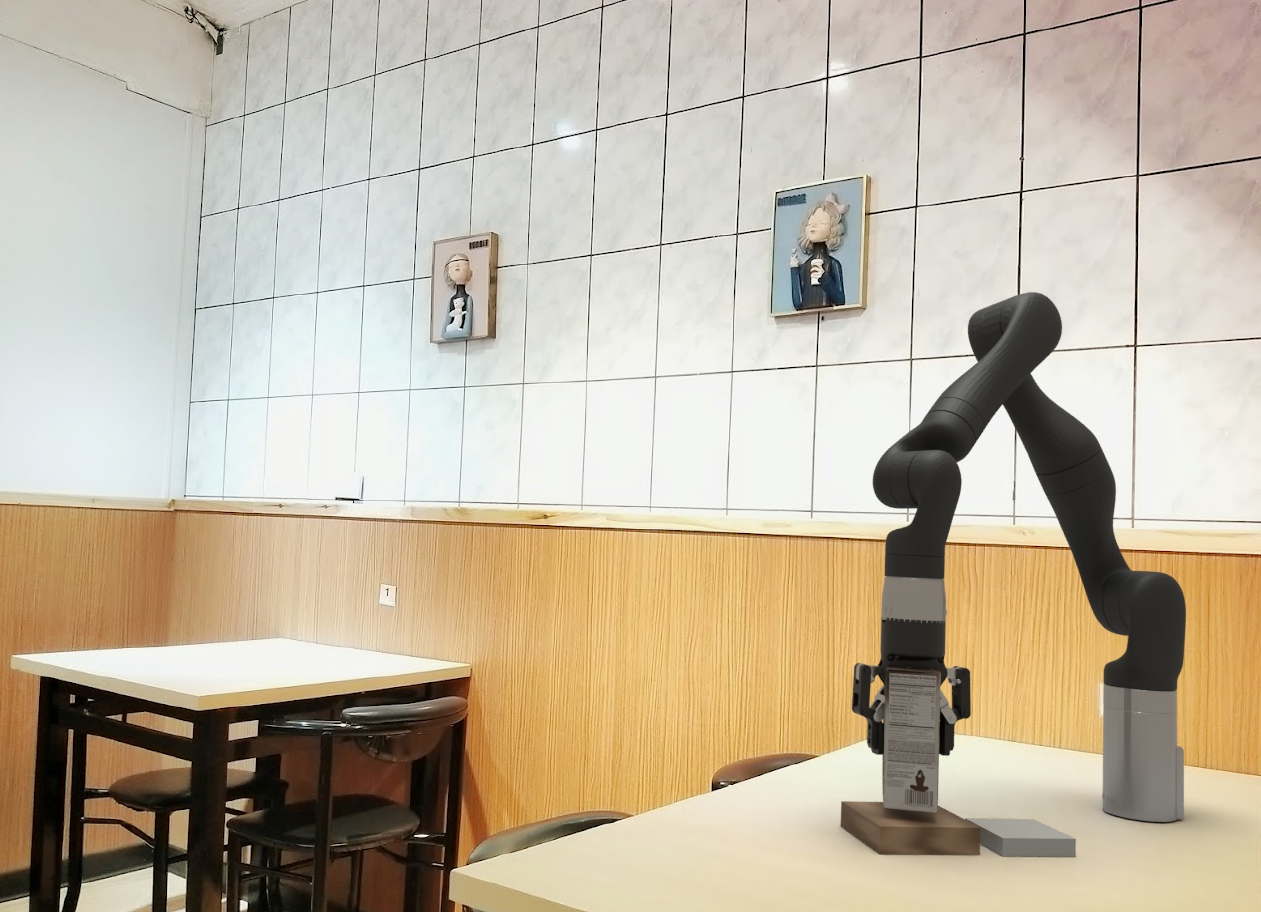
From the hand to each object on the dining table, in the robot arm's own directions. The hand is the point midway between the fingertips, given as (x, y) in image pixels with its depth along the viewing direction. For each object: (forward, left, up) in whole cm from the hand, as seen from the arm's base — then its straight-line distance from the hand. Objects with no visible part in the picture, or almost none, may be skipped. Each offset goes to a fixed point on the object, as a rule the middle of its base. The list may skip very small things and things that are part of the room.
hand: (910, 754), depth 125 cm
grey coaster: (-13, +2, -10) cm, 16 cm away
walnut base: (0, 0, -10) cm, 10 cm away
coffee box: (0, 0, -6) cm, 6 cm away
